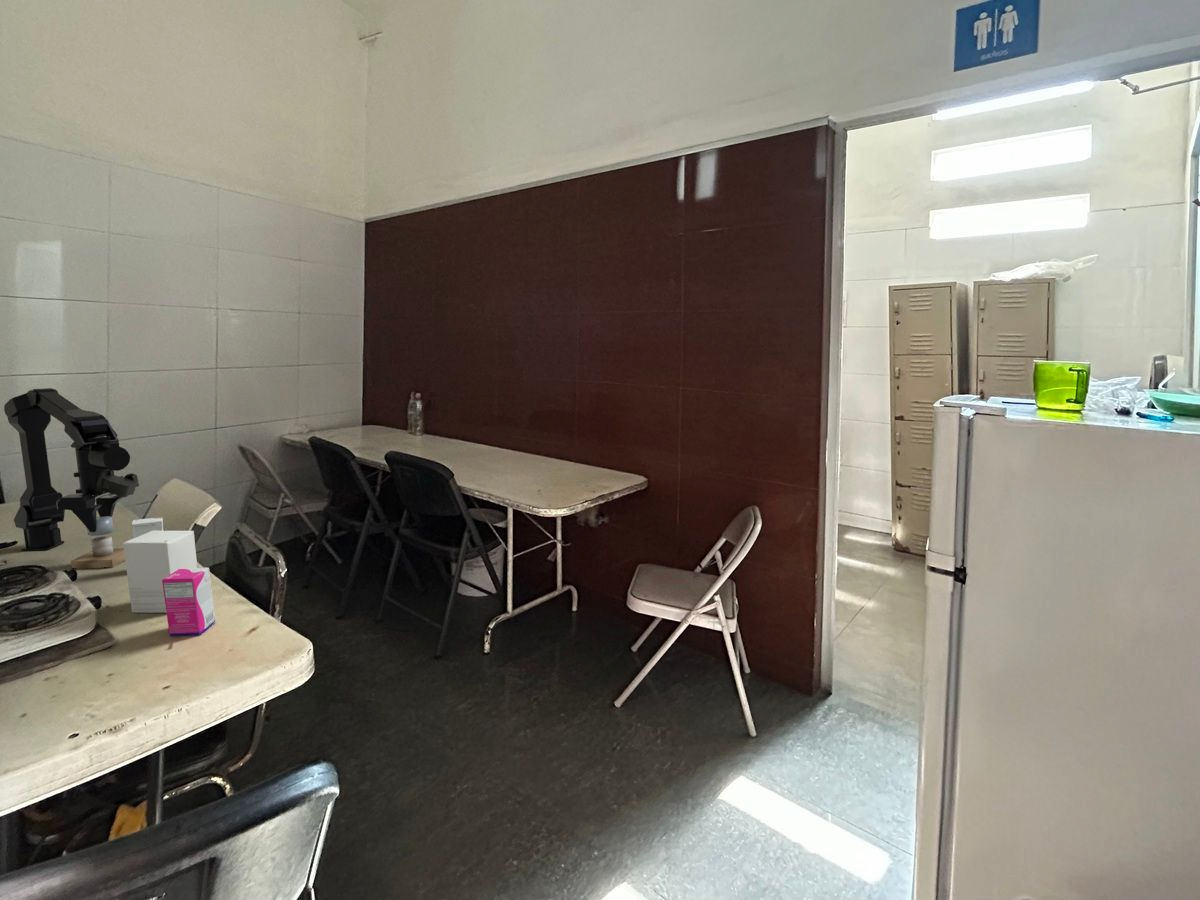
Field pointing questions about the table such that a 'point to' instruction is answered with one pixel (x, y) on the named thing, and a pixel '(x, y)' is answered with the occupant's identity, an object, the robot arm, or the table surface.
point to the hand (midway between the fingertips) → (100, 528)
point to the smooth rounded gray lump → (102, 526)
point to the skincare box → (146, 526)
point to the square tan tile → (100, 555)
